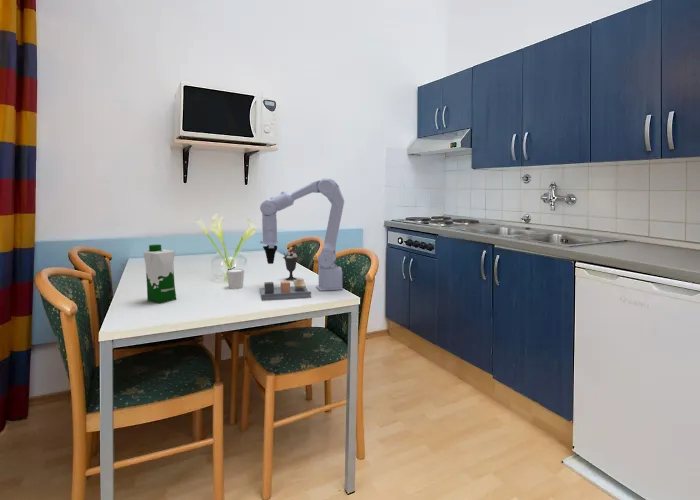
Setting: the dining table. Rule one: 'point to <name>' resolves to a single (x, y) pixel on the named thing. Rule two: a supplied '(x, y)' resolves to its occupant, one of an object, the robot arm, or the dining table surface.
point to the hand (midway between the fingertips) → (270, 263)
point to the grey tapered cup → (235, 278)
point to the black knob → (269, 287)
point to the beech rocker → (299, 283)
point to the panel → (285, 294)
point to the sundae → (290, 262)
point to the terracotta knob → (285, 287)
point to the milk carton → (159, 274)
